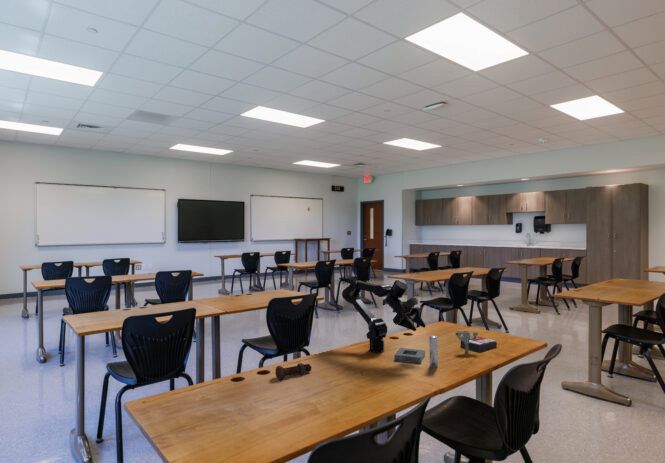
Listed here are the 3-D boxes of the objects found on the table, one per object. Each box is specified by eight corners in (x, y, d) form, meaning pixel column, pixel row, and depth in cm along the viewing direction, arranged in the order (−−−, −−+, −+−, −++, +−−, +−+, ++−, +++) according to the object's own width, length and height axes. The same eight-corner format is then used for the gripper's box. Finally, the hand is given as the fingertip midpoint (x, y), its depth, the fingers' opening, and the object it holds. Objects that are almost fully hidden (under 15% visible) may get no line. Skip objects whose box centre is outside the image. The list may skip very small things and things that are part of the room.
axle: (429, 367, 171) (428, 337, 171) (430, 364, 174) (430, 335, 174) (437, 368, 170) (437, 338, 170) (438, 365, 173) (438, 336, 173)
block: (394, 360, 181) (394, 355, 181) (400, 352, 192) (400, 347, 192) (420, 363, 176) (420, 357, 176) (425, 355, 187) (425, 350, 187)
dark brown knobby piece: (310, 376, 167) (278, 383, 159) (306, 368, 171) (274, 374, 163) (314, 366, 165) (281, 372, 156) (309, 358, 168) (277, 363, 160)
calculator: (497, 340, 200) (479, 343, 192) (497, 348, 200) (479, 352, 192) (478, 335, 209) (460, 338, 201) (478, 343, 209) (460, 347, 201)
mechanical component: (478, 353, 190) (478, 332, 190) (457, 353, 190) (456, 332, 190) (476, 351, 193) (475, 330, 193) (455, 351, 193) (454, 331, 193)
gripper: (395, 294, 177) (421, 319, 169) (415, 290, 191) (439, 312, 183) (382, 312, 181) (407, 337, 173) (402, 307, 195) (425, 329, 187)
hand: (420, 328), depth 179 cm, fingers open, 9 cm apart
